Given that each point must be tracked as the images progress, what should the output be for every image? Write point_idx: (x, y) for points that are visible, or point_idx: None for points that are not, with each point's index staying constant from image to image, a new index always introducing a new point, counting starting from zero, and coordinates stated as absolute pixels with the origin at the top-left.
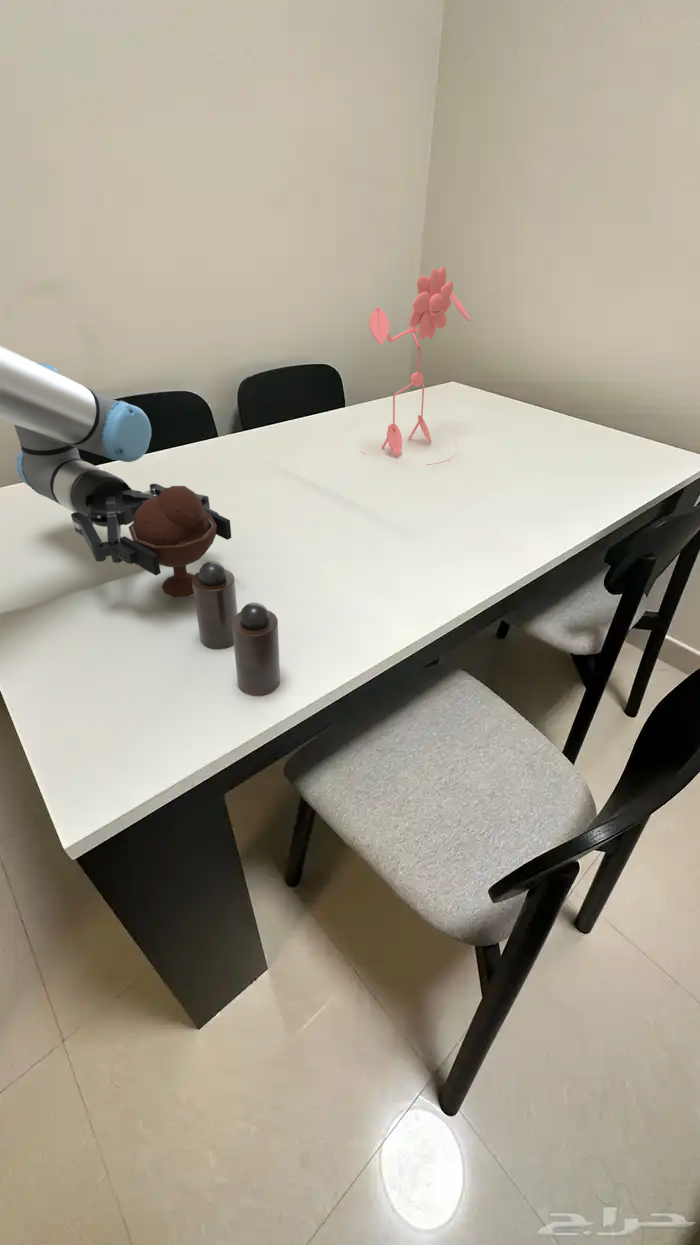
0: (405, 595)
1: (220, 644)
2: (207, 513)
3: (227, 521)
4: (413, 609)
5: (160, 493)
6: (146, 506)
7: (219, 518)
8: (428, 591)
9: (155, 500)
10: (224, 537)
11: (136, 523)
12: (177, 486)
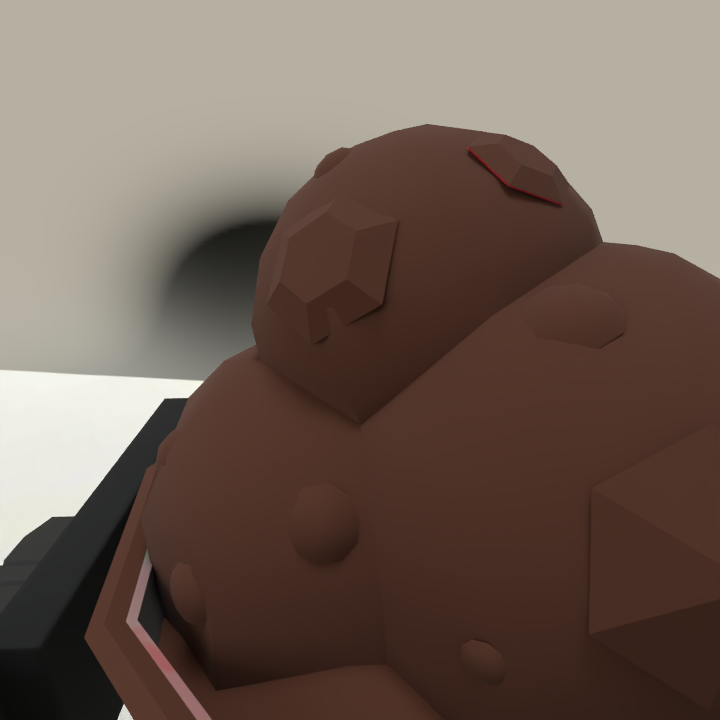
0: (67, 419)
1: None
2: (156, 470)
3: (182, 399)
4: (116, 401)
5: (560, 183)
6: (717, 280)
7: (171, 427)
8: (38, 407)
9: (616, 247)
10: None
11: None
12: (405, 129)
